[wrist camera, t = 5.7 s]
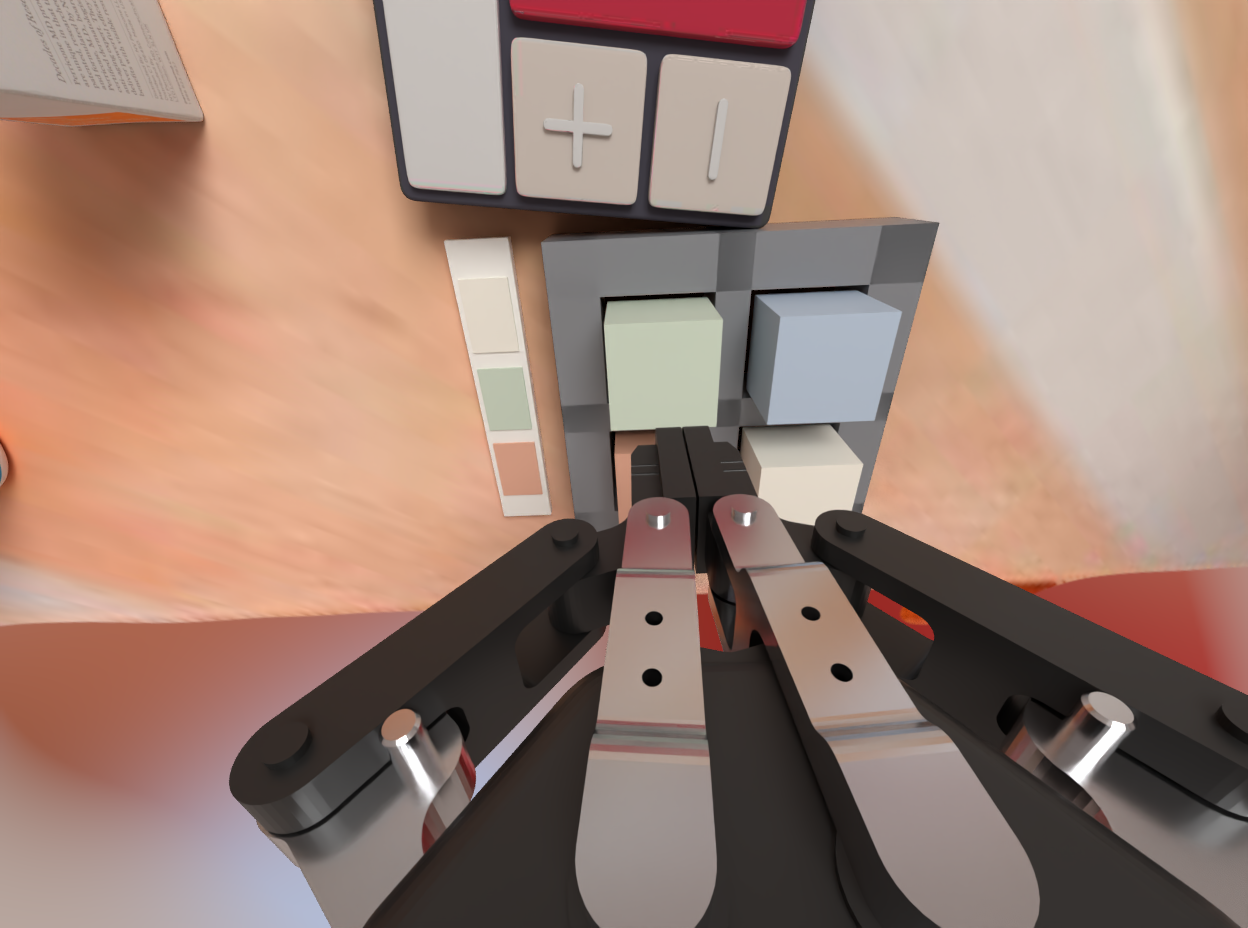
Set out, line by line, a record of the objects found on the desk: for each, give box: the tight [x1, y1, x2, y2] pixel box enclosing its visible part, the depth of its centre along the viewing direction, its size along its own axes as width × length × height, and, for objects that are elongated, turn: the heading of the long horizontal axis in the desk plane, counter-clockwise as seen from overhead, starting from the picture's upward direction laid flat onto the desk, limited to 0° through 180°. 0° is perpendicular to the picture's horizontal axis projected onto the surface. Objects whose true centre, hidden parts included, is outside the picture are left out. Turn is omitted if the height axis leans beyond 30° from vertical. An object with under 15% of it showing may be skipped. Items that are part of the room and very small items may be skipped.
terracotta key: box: [615, 429, 682, 524], centre depth 25 cm, size 4×4×4 cm
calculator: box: [373, 0, 815, 229], centre depth 18 cm, size 11×4×15 cm
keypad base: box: [541, 217, 939, 532], centre depth 25 cm, size 16×16×4 cm
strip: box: [444, 236, 552, 516], centre depth 26 cm, size 3×16×1 cm, turn 2°
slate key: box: [746, 290, 902, 425], centre depth 20 cm, size 4×4×4 cm
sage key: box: [604, 297, 723, 431], centre depth 20 cm, size 4×4×4 cm
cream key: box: [740, 424, 863, 526], centre depth 23 cm, size 4×4×4 cm
